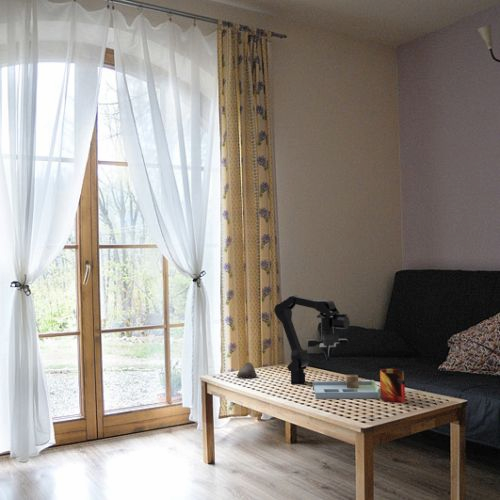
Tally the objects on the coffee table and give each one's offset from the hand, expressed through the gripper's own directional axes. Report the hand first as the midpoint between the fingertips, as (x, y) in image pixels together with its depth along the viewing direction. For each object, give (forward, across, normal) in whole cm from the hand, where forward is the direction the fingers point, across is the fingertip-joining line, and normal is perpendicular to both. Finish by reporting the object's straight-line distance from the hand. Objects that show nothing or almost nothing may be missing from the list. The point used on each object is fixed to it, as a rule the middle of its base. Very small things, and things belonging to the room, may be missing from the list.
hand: (328, 361), depth 276 cm
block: (+10, +10, -9) cm, 17 cm away
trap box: (+12, +6, -13) cm, 19 cm away
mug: (+12, +26, -26) cm, 39 cm away
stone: (+12, -39, +26) cm, 48 cm away
